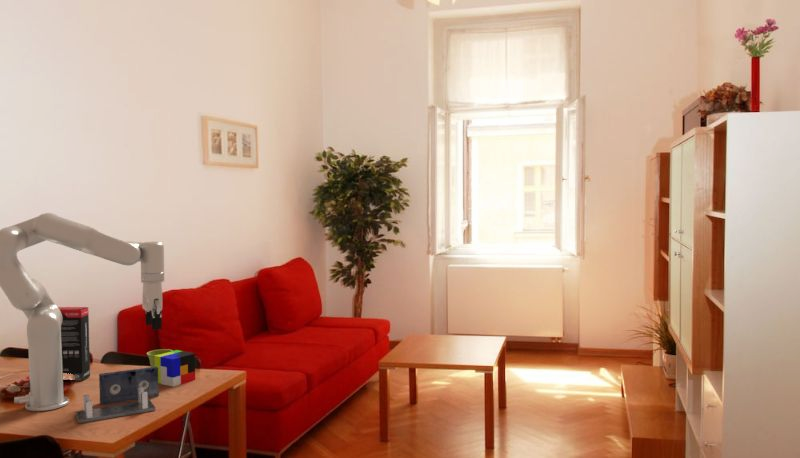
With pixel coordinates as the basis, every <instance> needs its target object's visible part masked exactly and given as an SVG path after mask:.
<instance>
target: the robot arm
mask: <svg viewBox="0 0 800 458" xmlns="http://www.w3.org/2000/svg"><path fill="white" fill-rule="evenodd" d="M45 241H47V242H51V243H53V244H57V245H61V246H64V247H66V248H67V247H68V248H70V249H72V250H76V251H79V252H81V253H84V254H88V255H92V256H95V257H98V258H101V259H104V260H107V261H110V262H112V263H116V264H119V265H122V266H127V267H128V266H133V265H135V264H137V263H138V262H140V281H141V282H140V283H142V295H141V296H142V299H141V300H142V303H141V307H142V309H143V310H144V311H145V313H144V314H145V316H144V317H145V318H144V319H145V320H144V321H145V325H146V326H149V325H151V330H153V331H156V330H162V328H163V324H162V321H163V319H162V317H163V315H162V310H163V288H162V287H163V286H162V283H164V282H165V246H164V243H163V242H161V241H145V242H141V241H140V242H138V241H128V240H127V241H125V240H124V241H123V240H122V239H118V238H116V237H112V236H110V235H107V234H105V233H103V232H100V231H99V230H97V229H96V228H94V227H91V226H88V225H85V224H82V223H78V222H76V221H74V220H70V219H67V218H64V217H62V216H59V215H57V214H56V213H51V212H45V213H42V214H40V215H38V216H35V217H33V218H30V219H27V220H25V221H22V222H19V223H16V224H13V225H10V226H6V227H3V228H0V288H1V290H2V292H3V293H4V294H5V296H6V297H7V299H8V300H9V302H10V304H11V305H12V307H14V308H15V309H16V310H18V311H21V312H23V314H24V315H25V316H26V318H27V324H26V339H27V345H28V348H27V349H28V367H29V368H28V369H29V392H28V394H25V396H14V399H13V403H14V404H18V405H21V404H25V408H24V409H25V410H27V411H30V412H43V411H51V410H56V409H59V408H62V407H64V406H67V405H68V404H69V403H70V399H69V397H67V396H64V381H63V369H62V345H61V324H62V321H63V317H62V313H61V311H60V310H59V308H58V307H59V306H58V305H57V304H56V302H55V301H54V299H53V298H52V296H51V295H50V293H49V291H48V290H47V289H46V287H45V286H44V285H43V284H42V283H41V282H40V281H39V280H37V279H34V278H31V276H30V275H29V273H28V272H27V270H26V269H25V266H24V265H23V264H22V263H21V262H20V261H19V259H18V253H19V252H20V251H21V250H24V249H28V248H30V247H33V246H35V245H38V244H41V243H43V242H45Z"/></svg>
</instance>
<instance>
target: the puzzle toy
mask: <svg viewBox="0 0 800 458" xmlns="http://www.w3.org/2000/svg"><path fill="white" fill-rule="evenodd" d="M195 356H196V354H195V353H194V352H189V351H183V350H178V349H175V350H172V351H171V352H167V353H163V354H160V355H156V356H154V360H155V367H157V368H158V385H159V384H160V385H164V386H170V387H172V388H173V387H176V386H179V385H183V384H186V383H189V382H193V381H196V357H195Z"/></svg>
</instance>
